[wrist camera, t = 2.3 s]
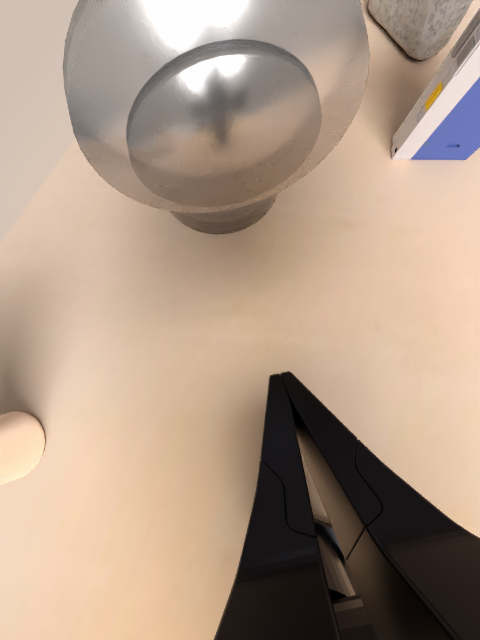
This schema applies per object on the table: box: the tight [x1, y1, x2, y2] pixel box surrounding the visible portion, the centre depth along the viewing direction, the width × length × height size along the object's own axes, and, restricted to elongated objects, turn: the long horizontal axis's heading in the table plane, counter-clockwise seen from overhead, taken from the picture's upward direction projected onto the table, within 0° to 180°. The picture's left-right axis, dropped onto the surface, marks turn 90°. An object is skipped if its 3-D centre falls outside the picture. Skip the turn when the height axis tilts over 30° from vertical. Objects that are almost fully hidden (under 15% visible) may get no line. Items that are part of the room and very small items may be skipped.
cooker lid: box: [63, 0, 369, 213], centre depth 13 cm, size 14×14×2 cm
